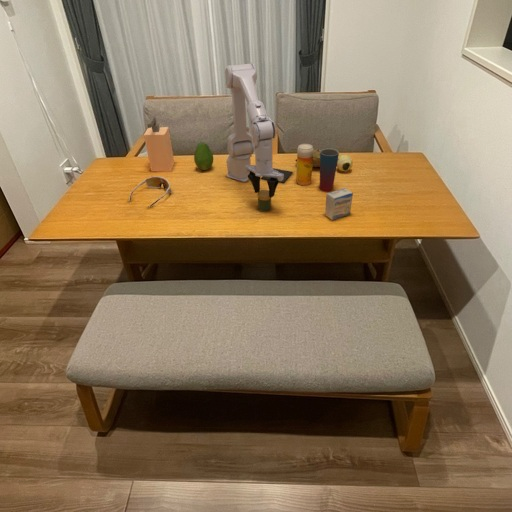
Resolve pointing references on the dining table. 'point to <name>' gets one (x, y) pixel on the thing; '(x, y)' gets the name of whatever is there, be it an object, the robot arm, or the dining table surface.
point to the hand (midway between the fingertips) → (264, 194)
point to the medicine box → (338, 203)
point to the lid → (263, 195)
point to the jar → (264, 205)
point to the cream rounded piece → (344, 163)
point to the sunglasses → (155, 185)
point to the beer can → (304, 164)
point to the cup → (328, 168)
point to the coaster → (286, 173)
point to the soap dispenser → (159, 147)
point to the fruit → (203, 156)
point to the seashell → (315, 158)
